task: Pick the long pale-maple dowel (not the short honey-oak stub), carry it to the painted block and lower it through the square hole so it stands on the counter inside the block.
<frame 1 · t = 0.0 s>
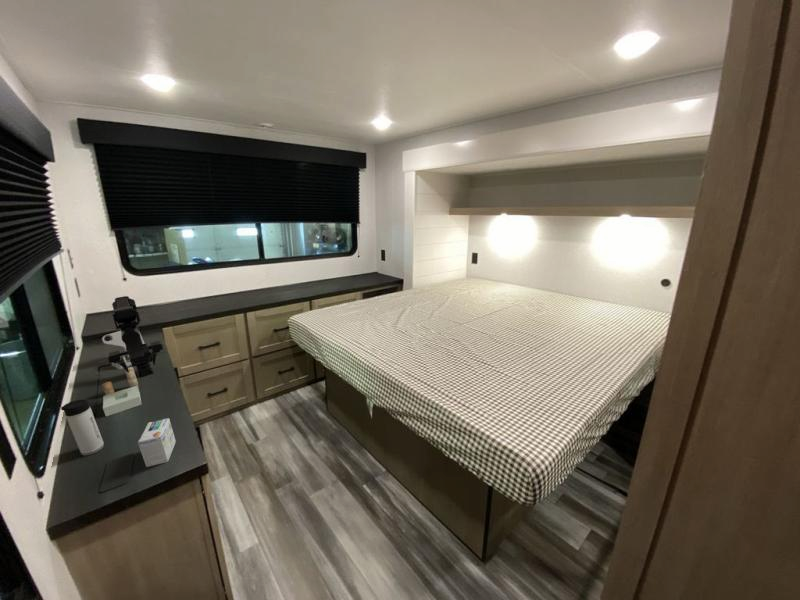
hand: (141, 368, 144), 15 cm above the worktop, fingers open, 9 cm apart
travel mug: (92, 450, 118), on the worktop
short dowel: (110, 394, 151), on the worktop
phone: (118, 473, 108), on the worktop
long dowel: (134, 387, 157), on the worktop
phone holder: (133, 361, 183), on the worktop
hole block: (123, 404, 144), on the worktop
light bulb box: (162, 454, 115), on the worktop
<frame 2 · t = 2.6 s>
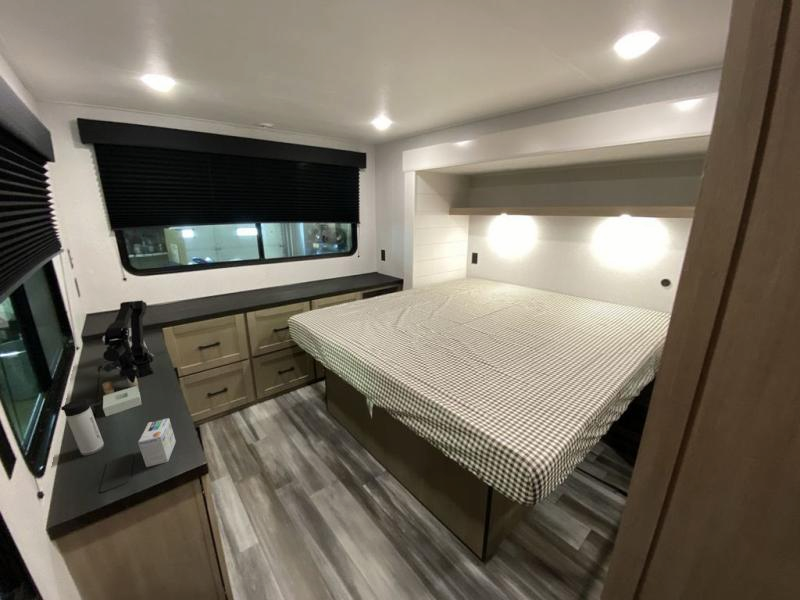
hand: (132, 380, 156), 4 cm above the worktop, fingers closed on long dowel, 3 cm apart
long dowel: (134, 387, 157), on the worktop, touching gripper
everything else where it was.
when the fingers open (5 cm above the worktop, at t = 6.0 s): long dowel drops 2 cm, resting in hole block.
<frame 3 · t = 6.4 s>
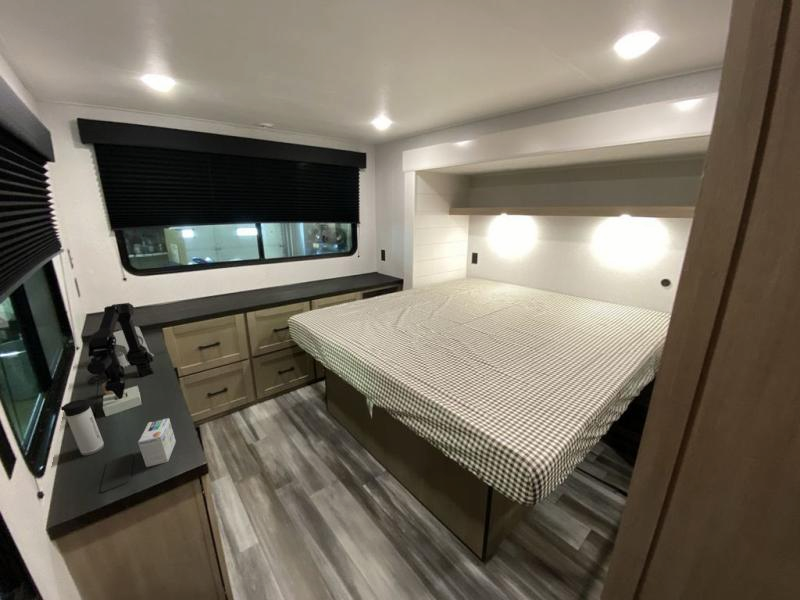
hand: (120, 394, 142), 5 cm above the worktop, fingers open, 8 cm apart
long dowel: (123, 404, 144), resting in hole block
everything else where it was.
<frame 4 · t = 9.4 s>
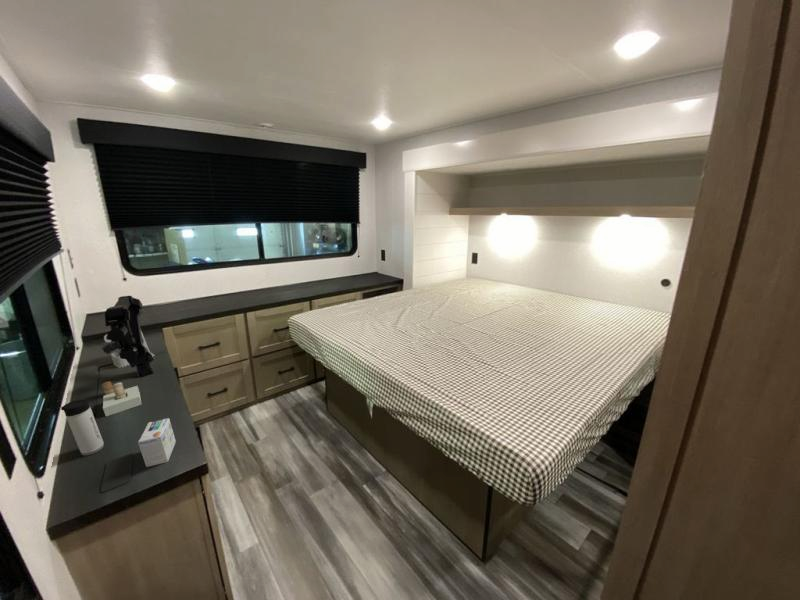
hand: (132, 363, 154), 13 cm above the worktop, fingers open, 9 cm apart
at the end: long dowel 0.0 cm off-centre on the hole block, point 0.0 cm above the hole block's base; long dowel tilted 1°; short dowel moved 0.0 cm from its start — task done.
